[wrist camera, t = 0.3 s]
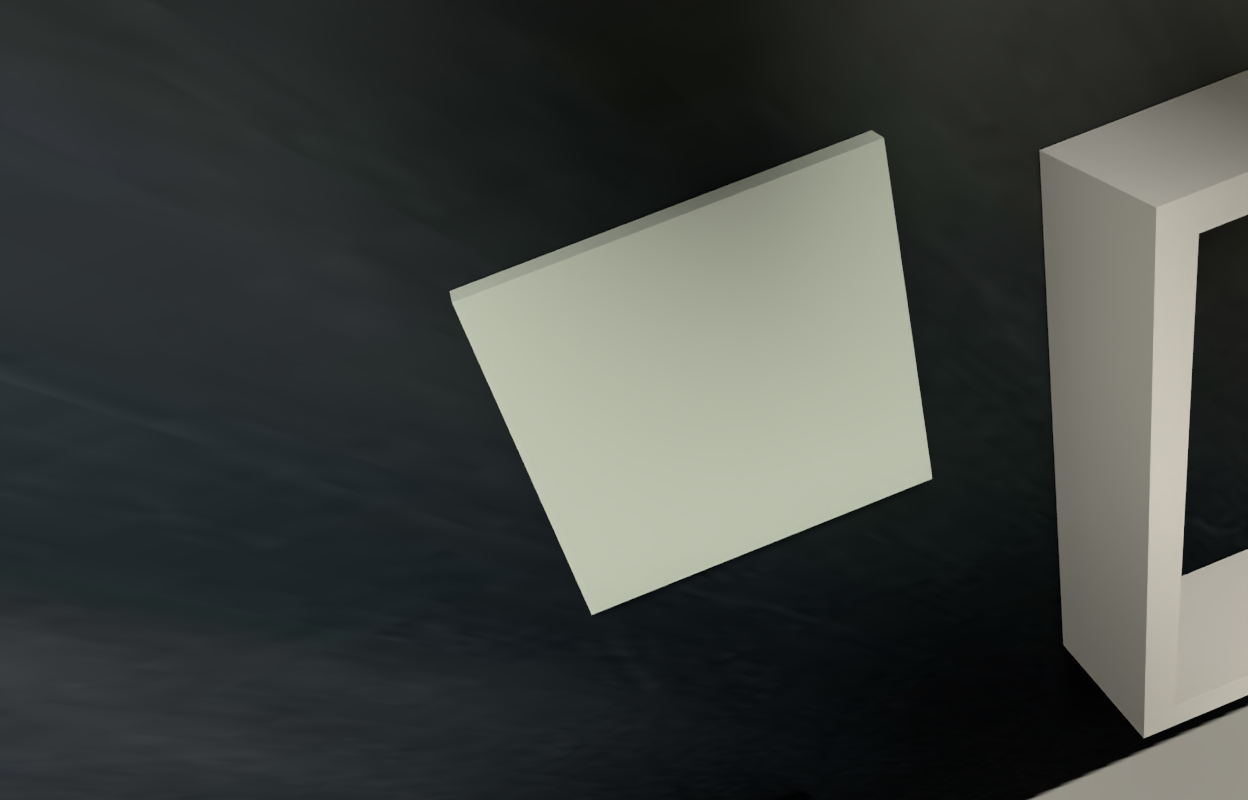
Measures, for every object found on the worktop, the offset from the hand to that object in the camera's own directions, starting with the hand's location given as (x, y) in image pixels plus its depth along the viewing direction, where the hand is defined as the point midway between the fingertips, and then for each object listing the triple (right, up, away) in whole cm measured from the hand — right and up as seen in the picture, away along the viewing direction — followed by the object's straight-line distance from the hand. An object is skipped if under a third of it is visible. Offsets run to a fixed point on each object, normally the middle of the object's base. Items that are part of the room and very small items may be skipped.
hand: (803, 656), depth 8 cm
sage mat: (+1, +3, +16) cm, 16 cm away
